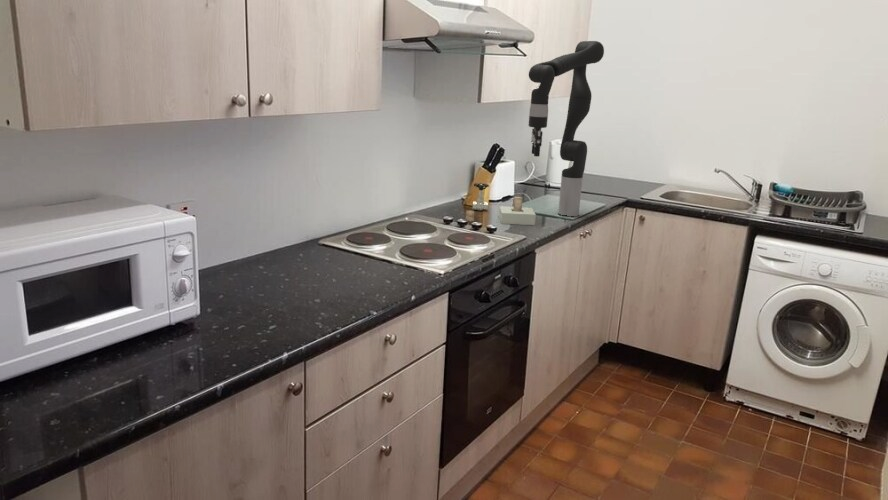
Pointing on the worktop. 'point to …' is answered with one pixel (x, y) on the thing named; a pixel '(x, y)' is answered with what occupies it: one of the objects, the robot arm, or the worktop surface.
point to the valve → (480, 198)
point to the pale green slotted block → (517, 216)
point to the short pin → (469, 215)
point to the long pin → (517, 204)
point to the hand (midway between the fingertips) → (535, 155)
